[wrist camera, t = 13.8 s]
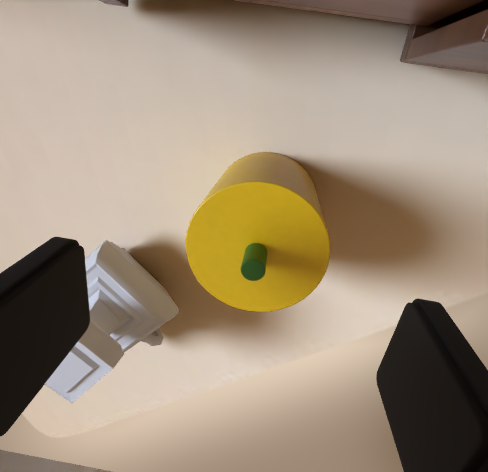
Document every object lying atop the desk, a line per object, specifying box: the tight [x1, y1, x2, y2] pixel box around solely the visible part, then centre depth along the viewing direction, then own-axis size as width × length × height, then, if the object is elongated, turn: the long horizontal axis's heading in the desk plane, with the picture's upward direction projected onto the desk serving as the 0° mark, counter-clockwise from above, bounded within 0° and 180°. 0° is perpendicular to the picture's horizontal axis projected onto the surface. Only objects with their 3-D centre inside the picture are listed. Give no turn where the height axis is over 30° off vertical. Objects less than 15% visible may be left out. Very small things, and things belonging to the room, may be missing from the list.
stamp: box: [45, 240, 180, 403], centre depth 21 cm, size 9×7×8 cm
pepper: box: [186, 152, 330, 312], centre depth 17 cm, size 6×6×9 cm
